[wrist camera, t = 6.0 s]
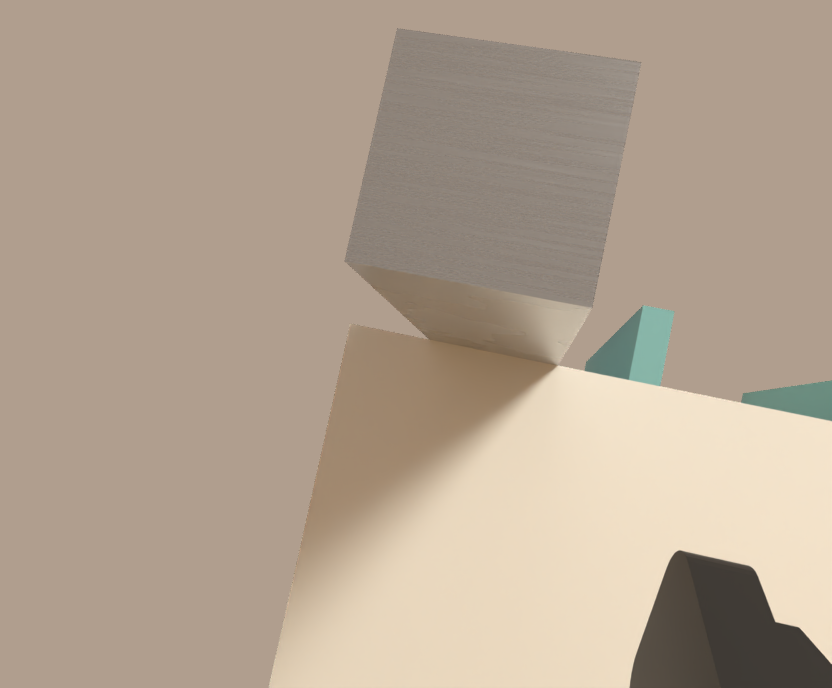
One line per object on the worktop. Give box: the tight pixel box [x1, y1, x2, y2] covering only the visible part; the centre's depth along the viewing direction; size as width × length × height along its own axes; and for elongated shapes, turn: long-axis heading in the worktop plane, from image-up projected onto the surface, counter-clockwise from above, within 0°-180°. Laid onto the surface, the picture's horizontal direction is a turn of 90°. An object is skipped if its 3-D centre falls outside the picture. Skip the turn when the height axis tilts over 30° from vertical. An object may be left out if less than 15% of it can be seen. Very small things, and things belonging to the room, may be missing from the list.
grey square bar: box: [345, 29, 641, 366], centre depth 24 cm, size 28×4×4 cm, turn 172°
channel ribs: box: [585, 306, 832, 421], centre depth 28 cm, size 18×8×2 cm, turn 172°
